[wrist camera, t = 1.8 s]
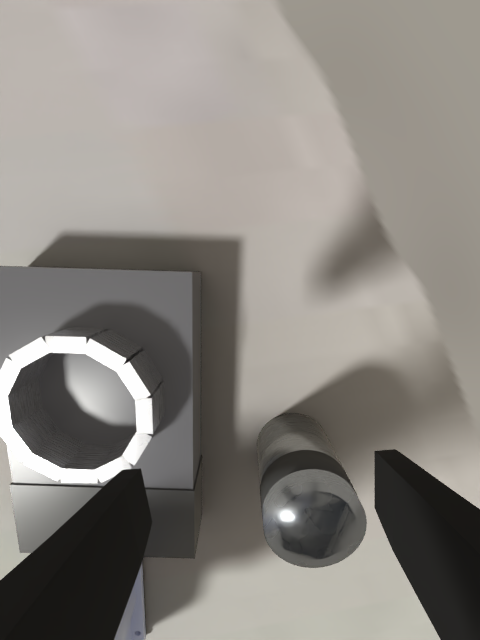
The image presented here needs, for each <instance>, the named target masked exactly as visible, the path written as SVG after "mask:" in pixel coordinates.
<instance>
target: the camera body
mask: <svg viewBox="0 0 480 640" xmlns="http://www.w3.org/2000/svg"><path fill="white" fill-rule="evenodd" d="M0 429H2V430H0V435H1V437H2V438H3V439H4V441H5V442H6V443H7V450H8V457H9V463H10V470H11V476H12V483H11V484H10V491H11V498H12V504H13V511H14V517H15V524H16V531H17V537H18V544H19V550H20V553H32V552H33V551H34V550H36V549H37V548H38V547H39V546H40V545H41V544H42V543H44V542H45V541H46V540H47V539H48V538H49V537H50V536H51V535H52V534H54V533H55V532H56V531H57V530H58V529H59V528H60V527H61V526H62V525H63V524H64V523H65V522H66V521H68V520H69V519H70V518H71V517H72V516H73V515H74V514H75V513H76V512H77V511H78V510H79V509H80V508H81V507H83V506H84V505H85V504H86V503H87V502H88V501H89V500H90V499H91V498H92V497H93V496H94V495H95V494H96V493H97V492H98V491H99V490H101V489H102V488H103V487H104V486H105V485H106V484H107V483H108V482H109V481H110V480H111V479H112V478H113V477H115V476H116V475H117V474H118V473H119V472H120V471H121V470H126V469H140V468H141V471H142V476H143V480H144V485H145V490H146V494H147V499H148V504H149V508H150V513H151V518H152V526H151V530H150V534H149V538H148V542H147V546H146V549H145V553H144V557H165V558H194V559H195V553H196V547H197V541H198V535H199V529H200V523H201V517H202V455H201V272H189V271H156V270H123V269H90V268H57V267H23V266H0Z"/></svg>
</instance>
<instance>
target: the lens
mask: <svg viewBox="0 0 480 640" xmlns="http://www.w3.org/2000/svg"><path fill="white" fill-rule="evenodd" d="M257 455H258V467H259V479H260V495H261V508H262V517H263V527H264V534H265V538H266V541H267V543H268V545H269V546H270V548H271V549H272V550H273V552H274V553H275V554H276V555H278V556H279V557H280V558H281V559H283V560H285V561H286V562H289V563H291V564H294V565H297V566H301V567H308V568H318V567H325V566H329V565H332V564H335V563H338V562H340V561H342V560H343V559H345V558H347V557H348V556H349V555H351V554H352V553H353V552H354V551H355V550H356V549H357V547H358V546H359V545H360V543H361V542H362V540H363V537H364V535H365V531H366V524H367V522H366V515H365V511H364V509H363V506H362V504H361V502H360V501H359V499H358V496H357V494H356V492H355V490H354V488H353V486H352V484H351V482H350V480H349V478H348V476H347V474H346V472H345V471H344V469H343V467H342V465H341V463H340V461H339V459H338V457H337V455H336V454H335V452H334V450H333V448H332V446H331V444H330V442H329V440H328V438H327V436H326V434H325V432H324V430H323V429H322V427H321V426H320V425H319V423H317V422H316V421H315V420H314V419H312V418H310V417H308V416H306V415H302V414H297V413H289V414H283V415H280V416H278V417H275V418H274V419H272V420H270V421H269V422H268V423H267V424H266V425H265V426H264V427H263V428H262V430H261V432H260V434H259V436H258V440H257Z"/></svg>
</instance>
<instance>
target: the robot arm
mask: <svg viewBox="0 0 480 640" xmlns="http://www.w3.org/2000/svg"><path fill="white" fill-rule="evenodd" d="M375 509H376V512H377V514H378V517H379V519H380V522H381V524H382V526H383V529H384V531H385V533H386V536H387V538H388V540H389V543H390V545H391V547H392V550H393V551H394V553H395V555H396V557H397V559H398V561H399V563H400V565H401V567H402V568H403V570H404V572H405V574H406V576H407V578H408V580H409V582H410V583H411V585H412V587H413V589H414V591H415V593H416V595H417V596H418V598H419V600H420V602H421V604H422V606H423V608H424V609H425V611H426V613H427V615H428V617H429V619H430V621H431V622H432V624H433V626H434V628H435V630H436V632H437V634H438V635H439V637H440V639H441V640H480V509H479V508H477V507H476V506H474V505H473V504H471V503H470V502H469V501H467V500H466V499H464V498H463V497H461V496H460V495H459V494H457V493H456V492H454V491H453V490H451V489H450V488H449V487H447V486H446V485H444V484H443V483H442V482H440V481H439V480H438V479H436V478H435V477H433V476H432V475H431V474H429V473H428V472H426V471H425V470H424V469H422V468H421V467H420V466H418V465H417V464H415V463H414V462H413V461H411V460H410V459H408V458H407V457H406V456H404V455H403V454H401V453H400V452H398V451H397V450H382V451H375ZM151 526H152V518H151V513H150V508H149V504H148V499H147V494H146V490H145V485H144V480H143V476H142V471H141V468H140V469H126V470H121V471H120V472H119V473H118V474H117V475H116V476H115V477H113V478H112V479H111V480H110V481H109V482H108V483H107V484H106V485H105V486H104V487H103V488H102V489H101V490H99V491H98V492H97V493H96V494H95V495H94V496H93V497H92V498H91V499H90V500H89V501H88V502H87V503H86V504H85V505H84V506H83V507H81V508H80V509H79V510H78V511H77V512H76V513H75V514H74V515H73V516H72V517H71V518H70V519H69V520H68V521H66V522H65V523H64V524H63V525H62V526H61V527H60V528H59V529H58V530H57V531H56V532H55V533H54V534H52V535H51V536H50V537H49V538H48V539H47V540H46V541H45V542H44V543H42V544H41V545H40V546H39V547H38V548H37V549H36V550H34V551H33V552H32V553H31V554H30V555H29V556H28V557H26V558H25V559H24V560H23V561H22V562H21V563H20V564H19V565H17V566H16V567H15V568H14V569H13V570H12V571H11V572H9V573H8V574H7V575H6V576H5V577H4V578H3V579H1V580H0V640H145V639H146V629H145V608H144V587H143V567H142V560H143V557H144V553H145V549H146V546H147V542H148V538H149V534H150V530H151Z"/></svg>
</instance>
